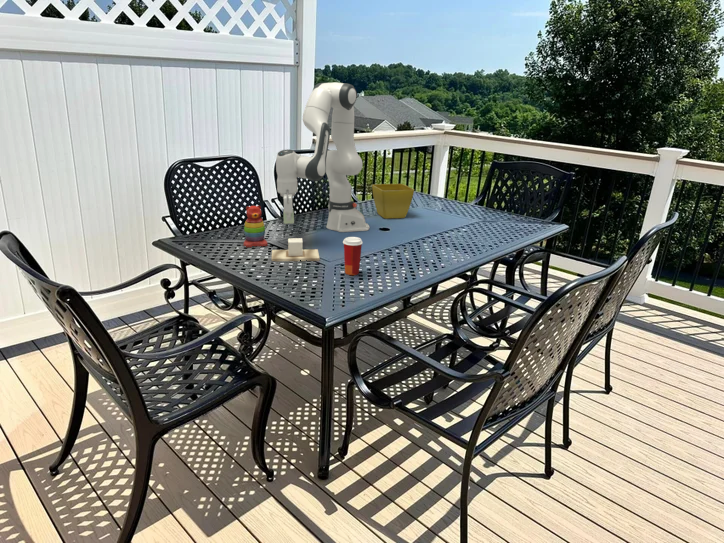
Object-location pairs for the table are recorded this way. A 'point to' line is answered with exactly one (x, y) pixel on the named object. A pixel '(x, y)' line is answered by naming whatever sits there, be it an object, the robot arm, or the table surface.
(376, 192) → the flower pot
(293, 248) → the cream block
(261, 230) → the stacking bear
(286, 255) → the base board
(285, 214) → the sage cube
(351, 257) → the paper cup
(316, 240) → the table surface
